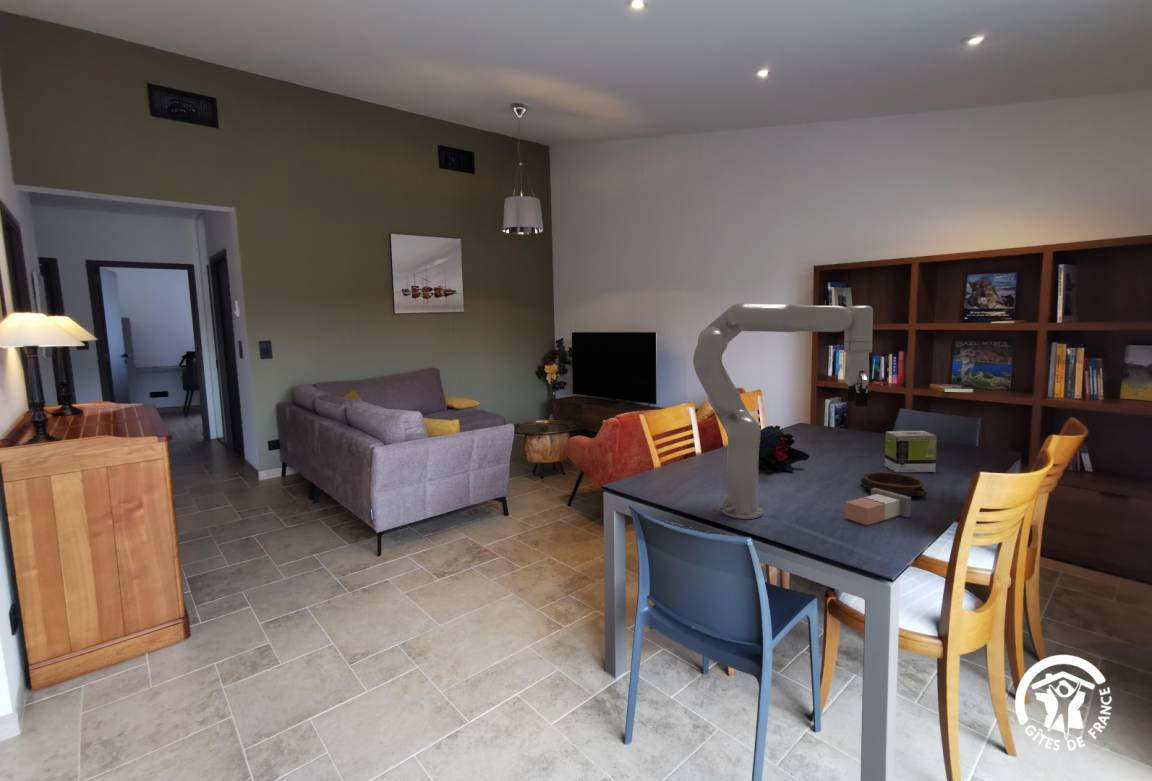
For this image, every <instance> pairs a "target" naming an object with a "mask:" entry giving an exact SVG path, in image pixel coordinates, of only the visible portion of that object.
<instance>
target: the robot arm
mask: <svg viewBox="0 0 1152 781" xmlns="http://www.w3.org/2000/svg"><path fill="white" fill-rule="evenodd" d="M873 322H874V309H873V307H872V306H870V305H861V304H860V305H849V306H842V305H807V304H806V305H804V304H803V305H802V304H795V303H794V304H793V303H764V302H763V303H762V302H761V303H759V302H757V303H754V302H753V303H752V302H750V303H749V302H746V303H745V302H743V303H741V302H740V303H735V304H732V305H731V306H729V307H728V308H727V309H726V310H725V311H724V312H723V313H721V314H720V315H719V316H718V317H717V318H716V319H715V320H713V321H711V323H709V325H707V326H706V327H705V328H704V329H702V331H701V332H700V333H699V335H698V336H697V345H696V347H695V349H694V353H693V358H692V359H693V368H694V372H695V374H696V376H697V378H698V380H699V382H700V384H701V386H702V388H703V391H704V392H705V393H706V395H707V400H708V403H709V404H710V407H711V409H712V410H713V413H714V414H715V415H716V417H717V419H718V420H719V422H720V424H721V426H722V427H723V429H724V431H725V433H726V434H727V448H726V449H727V452H726V498H723V502H722V503H719V504H716V505H715V506H714V507H715V510H716V511H717V512H720V511H721V512H722V514H723V515H725V516H728V517H730V518H734V519H740V520H741V519H742V520H750V519H757V518H760V517H761V516H763V512H764V510H763V508H761V506H759V505H758V504H759V464H758V461H759V445H760V436H761V433H760V430H761V427H760V425H759V423H758V422H757V419H755V418H754V417H753V416H752V415H751V413H750V412H749V410H748V409H747V406H746V405H745V403H744V402H743V400H742V396H741V393H740V392H739V390H738V389H737V387H736V386H735V384H734V382H733V381H732V379H731V378H730V375H729V373H728V372H727V370H726V368H725V366H724V364H723V355H724V353H725V351H726V350H727V348H728V345H729V343H730V342H731V341H733V339H734V338H736V337H737V336H739V334H740V333H741V332H765V333H766V332H771V333H773V332H774V333H794V332H817V333H818V332H821V333H824V332H825V333H840V332H843V331H844V335H843V336H844V340H843V341H844V342H843V345H844V346H843V352H844V353H845V362H844V373H843V374H844V378H843V379H844V380H843V381H844V383H845V384H847V388H846V389H847V390H846V401H848V402H854V406H855V407H868V393H869V392H868V388H869V386H868V385H869V382H870V355H869V353H872V352H873V334H874V332H873V326H874V323H873Z"/></svg>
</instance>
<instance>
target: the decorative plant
mask: <svg viewBox="0 0 1152 781" xmlns="http://www.w3.org/2000/svg"><path fill="white" fill-rule="evenodd" d="M760 433H761V436H760V445H759V461H758V463H759V464H758V465H759V466H761V467H763V469H765V471H767V473H768V474H769V473H772V474H773V473H774V468H776V469H780V470H783V471H785V472H788V473H789V472H791V473H793V471H794V468H793V466H792V465H793V464H794V463H795V464H796V463H797V462H803V461H807V460H809V458H810V455H809V453H807V452H805V451H803V450H799V449H797V448H795V447H792V445H794V443H795V440H794V439H793V437H794V435H792V434H790V433H787V434H785V433H784V432H783V431H782V430H781V426H780V425H777V424H776V425H774V426H773V425H768V426H765V427H764V428H762V429H760Z"/></svg>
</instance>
